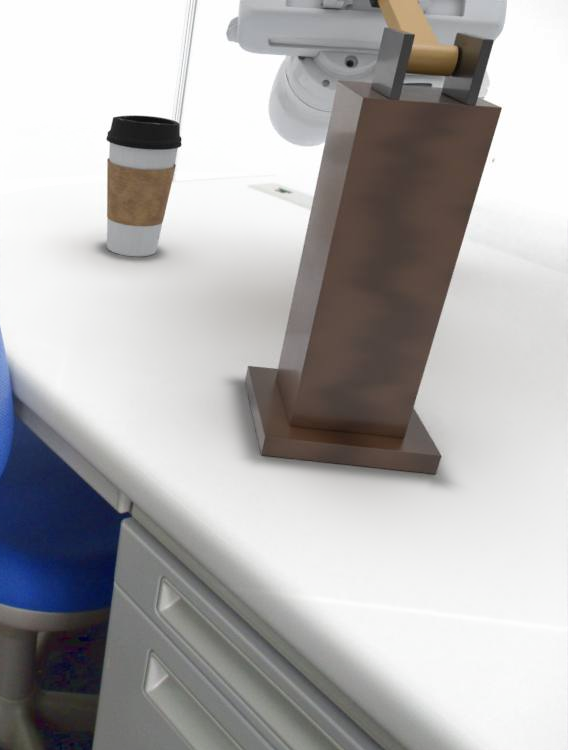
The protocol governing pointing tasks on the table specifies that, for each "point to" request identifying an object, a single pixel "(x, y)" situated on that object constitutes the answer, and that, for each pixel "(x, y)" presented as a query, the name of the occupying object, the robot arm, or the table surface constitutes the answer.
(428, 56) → the lever
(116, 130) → the coffee cup
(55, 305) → the table surface
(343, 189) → the pedestal
